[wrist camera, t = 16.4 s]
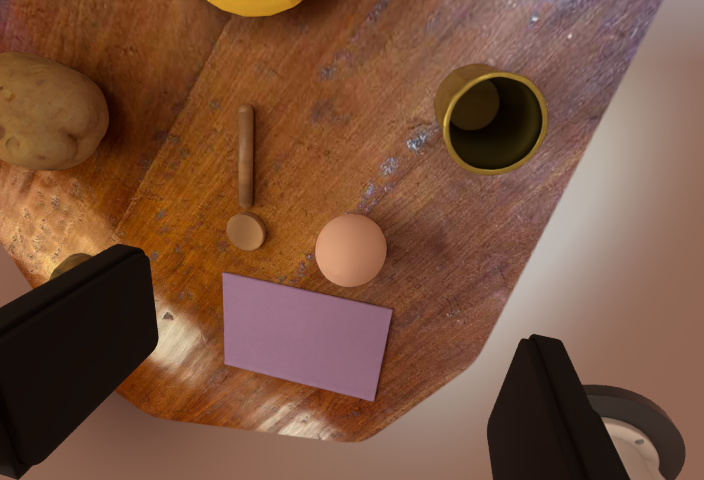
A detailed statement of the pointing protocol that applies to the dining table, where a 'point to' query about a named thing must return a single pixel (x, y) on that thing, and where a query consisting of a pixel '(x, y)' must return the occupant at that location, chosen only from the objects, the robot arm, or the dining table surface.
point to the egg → (350, 250)
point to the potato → (48, 113)
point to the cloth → (304, 335)
